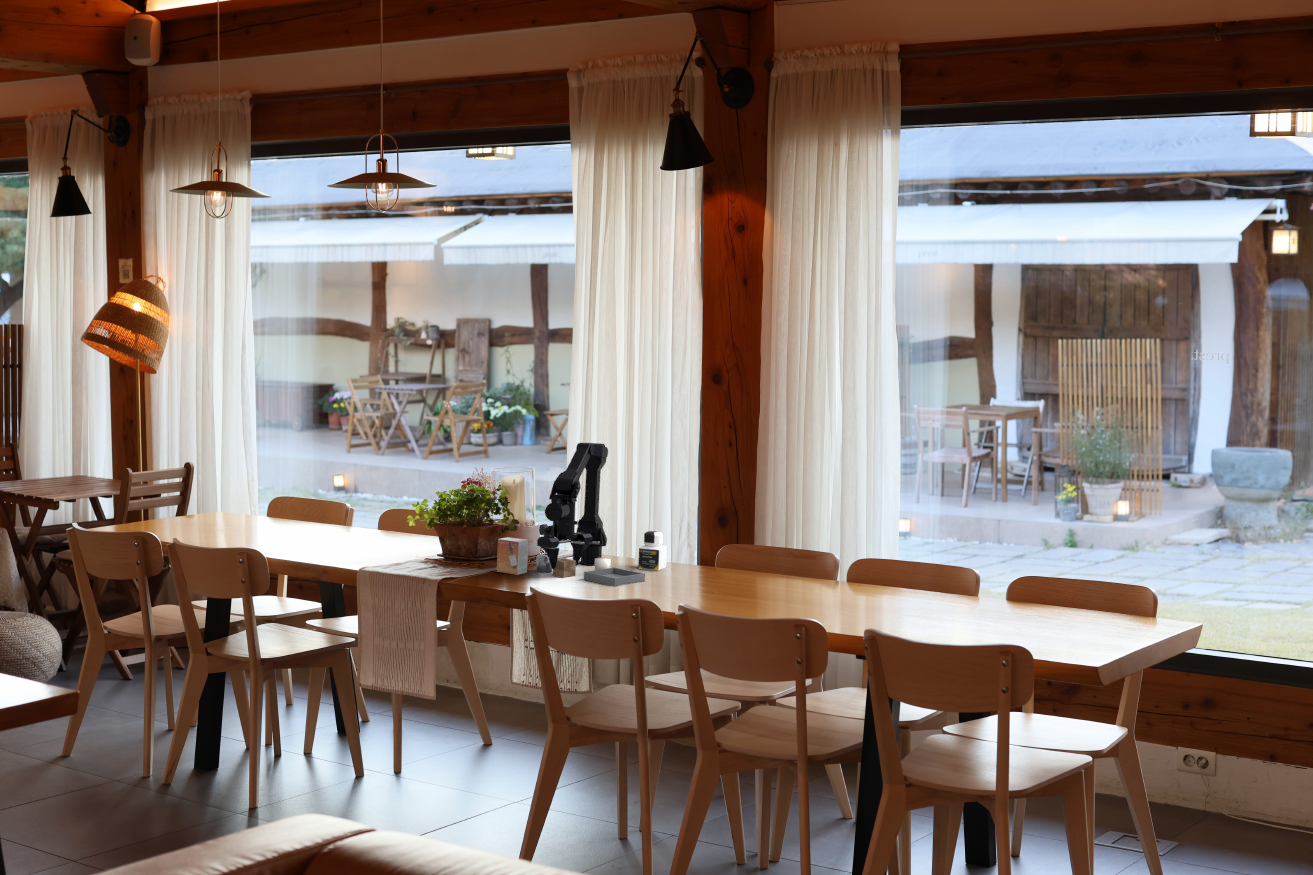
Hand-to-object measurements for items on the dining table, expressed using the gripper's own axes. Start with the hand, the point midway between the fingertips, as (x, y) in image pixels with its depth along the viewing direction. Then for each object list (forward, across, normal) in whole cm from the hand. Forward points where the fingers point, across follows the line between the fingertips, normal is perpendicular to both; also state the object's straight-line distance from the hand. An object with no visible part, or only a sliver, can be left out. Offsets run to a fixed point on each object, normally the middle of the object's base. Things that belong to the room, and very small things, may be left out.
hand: (564, 567), depth 400 cm
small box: (+3, +9, -14) cm, 17 cm away
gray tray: (+3, -7, +15) cm, 17 cm away
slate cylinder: (+3, 0, -9) cm, 9 cm away
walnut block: (+3, 0, 0) cm, 3 cm away
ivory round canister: (+3, -11, +6) cm, 13 cm away
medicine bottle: (+3, -32, +8) cm, 33 cm away
